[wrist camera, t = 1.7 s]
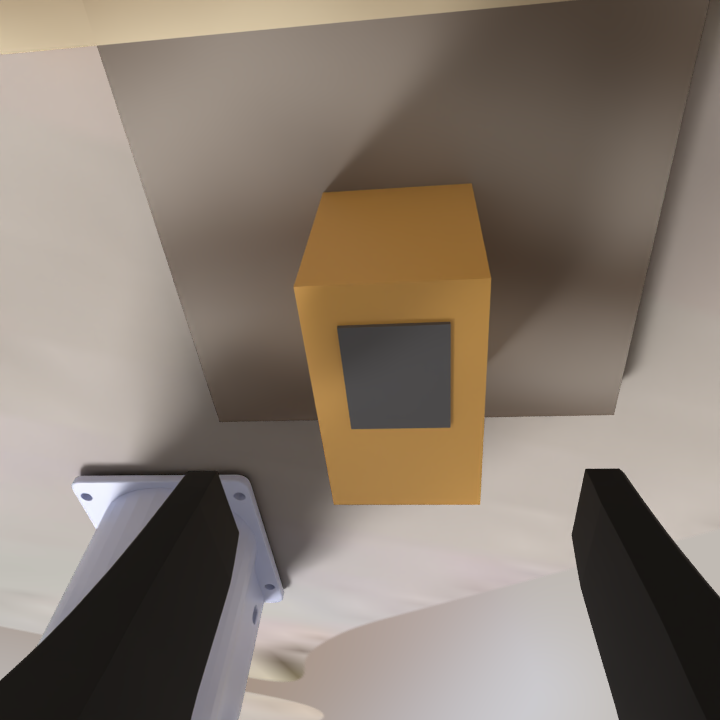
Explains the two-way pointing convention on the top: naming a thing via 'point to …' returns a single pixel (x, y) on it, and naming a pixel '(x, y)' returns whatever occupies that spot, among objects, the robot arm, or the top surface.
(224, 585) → the robot arm
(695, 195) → the top surface
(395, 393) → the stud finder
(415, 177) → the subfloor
